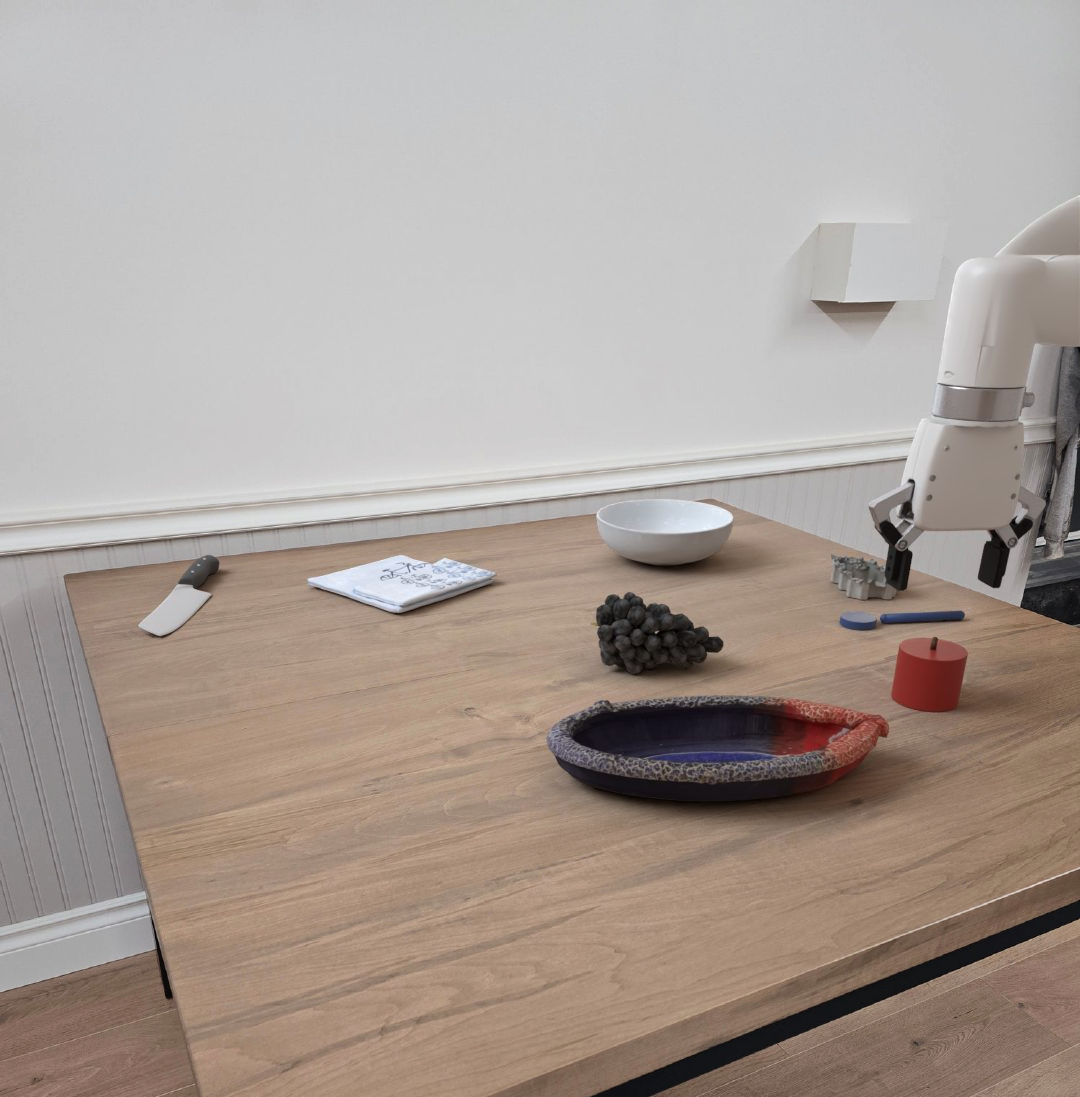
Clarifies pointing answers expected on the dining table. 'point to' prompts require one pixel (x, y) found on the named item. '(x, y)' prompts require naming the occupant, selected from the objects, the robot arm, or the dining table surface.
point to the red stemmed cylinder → (929, 674)
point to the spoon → (894, 618)
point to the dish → (713, 746)
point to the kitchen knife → (182, 599)
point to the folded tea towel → (404, 582)
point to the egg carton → (861, 578)
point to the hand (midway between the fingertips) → (942, 585)
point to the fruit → (649, 635)
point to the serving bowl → (664, 530)
